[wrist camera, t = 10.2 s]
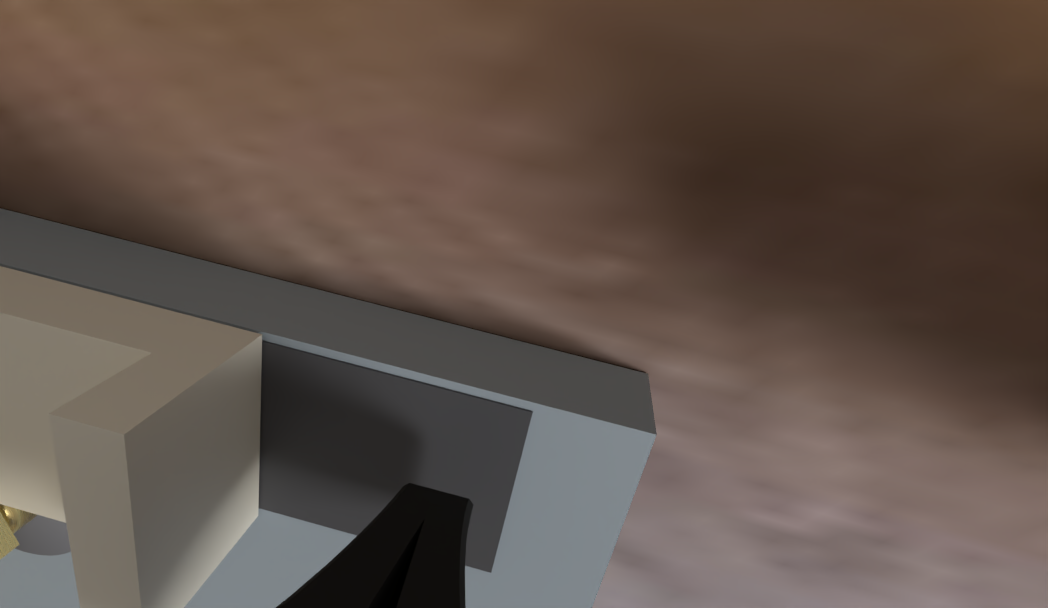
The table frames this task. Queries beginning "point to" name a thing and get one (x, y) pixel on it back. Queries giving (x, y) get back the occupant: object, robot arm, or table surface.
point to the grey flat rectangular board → (374, 432)
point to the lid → (128, 436)
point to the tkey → (11, 527)
